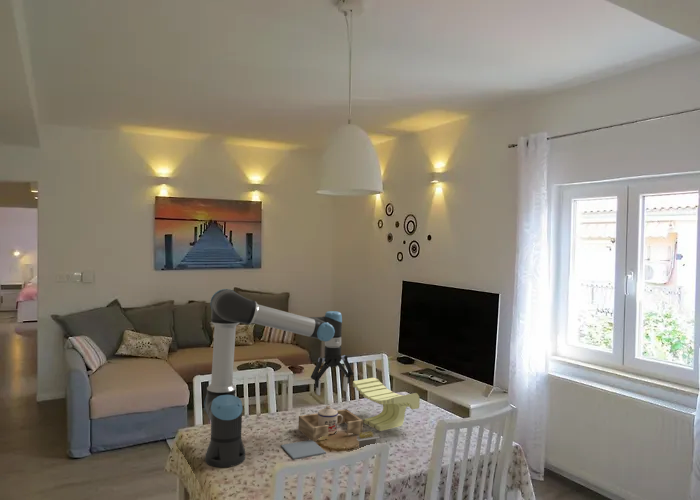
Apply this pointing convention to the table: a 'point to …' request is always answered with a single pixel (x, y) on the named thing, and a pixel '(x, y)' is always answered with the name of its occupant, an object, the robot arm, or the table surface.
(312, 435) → the open enclosure
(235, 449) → the robot arm
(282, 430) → the table surface
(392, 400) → the slatted curved stool
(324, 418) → the teacup with lid
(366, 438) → the platform
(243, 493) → the table surface
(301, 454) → the mat
